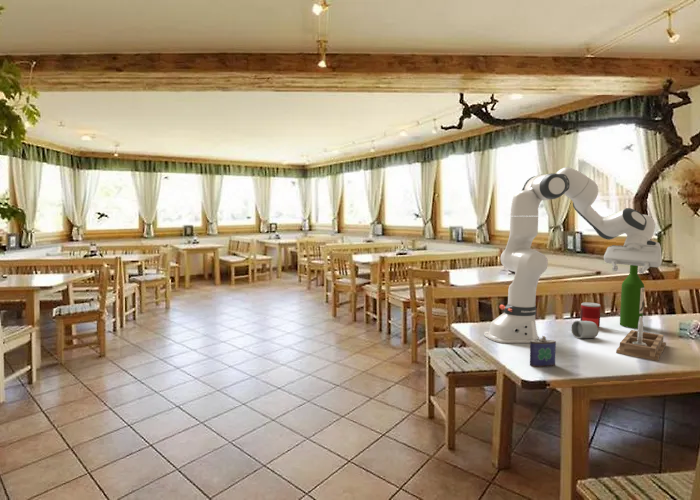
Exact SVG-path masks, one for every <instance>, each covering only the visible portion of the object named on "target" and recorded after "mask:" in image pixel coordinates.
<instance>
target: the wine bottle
mask: <svg viewBox="0 0 700 500" xmlns="http://www.w3.org/2000/svg"><path fill="white" fill-rule="evenodd" d="M638 268H639V266H636V265H629V274H628V275H627V277H626V278H625V279H624V280H623V282H622V284H621V293H620V311H619V312H620V313H619V325H620V326H621V327H624V328H629V329H638V323H639V317H640V316H641V317H642V318H644V317H643V316H644V301H645V284H644V282H643V281H642V280H641V278H640V275H639V269H638Z"/></svg>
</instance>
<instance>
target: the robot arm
mask: <svg viewBox="0 0 700 500" xmlns="http://www.w3.org/2000/svg"><path fill="white" fill-rule="evenodd" d="M598 195H599V186H598V184H597V182H595V181H594V180H593V179H591V178H590V177H589V176H587V175H586V174H584V173H583V172H580V171H579V170H577V169H575V168H573V167H570V166H569V167H568V166H565V167H562V168H560V169H559V170H557V171H556V173H553V172H550V173H547V174H546V173H543V174H538V175H533V176H531V177H530V178H527V180H526V181H525V183H524V184H523V187H522V189H521V190H519V191H517V192H515V193H514V195H513V197H512V200H511V201H512V202H511V207H510V222H509V224H510V225H509V236H508V239H507V243H506V246H505V249H504V250H503V251H502V253H501V254H500V258H499V259H500V263H501V265H502V266H503V267H504V268H505V269H507V270H508V271H510V272H513V273H514V276H513V280H512V282H511V283H510V284H509V286H508V293H507V294H508V295H507V304H506V305H504V304H500V305H499V309H500V310H503V312H502V314H500V315H499V316H497V317H496V318H494V320H492V321H491V322H490V326H489V331H484V337H486V338H487V339H489V340H491V341H494V342H496V343H501V344H506V343H509V344H511V343H513V344H525V343H527V344H529V343H530V341H532V340H535V339H536V340H539V336H538V335H539V334H538V331H537V324H536V316H537V305H536V300H537V299H536V298H537V296H536V295H537V288H538V286H537V285H538V283H539V280H540V278H541V276H542V274H544V272H546V271H547V269H548V267H549V262H548V258H547V256H546V255H545V254H544V253H542V252H540V251H538V250H536V249H531V248H532V243H533V240H534V239H535V238H536V237H537V236H538V233H539V207H540V204H541V202H542V201H550V200H556V199H558V198H560V197H561V196H566V197H567V198H568V199H570V201H572V207H573V209H574V210H575V211H576V212H577V214H578V215H579V216H580V217H581V218H582V219H584V220H585V221H586V222H587V223H588V224H589V225H590V226H591V228H592V229H594V231H595V232H596V234H597V235H598V236H599V237H601V238H602V239H604V240H607V241H608V240H612V239H614V238H617V237H619V236H620V235H623V234H626V238H625V240H624V244H623V245H616V244H615V245H614V244H613V245H609V246H607V248H606V249H605V252H604V255H603V261H604V262H605V264H611V266H612V271H613V272H617V271H618V269H619V268H618V265H624V266H625V265H627V266H630V265H636V266H638V267H639V269H638V274H644V273H645V272H646V271H647V270H648V269H650V268H660V267H661V266H662V263H663V257H662V247H661V244H660V242H657V241H654V240H652V238H653V236H654V233H655V226H656V225H655V220H654V219H653V218H652V217H651V216H650V215H648V214H642V213H641V212H640V211H638V210H636V209H634V208H630V207H626V208H624V209H621V210H619V211H617V212H615V213H613V214H609V216H601V215H600V214H599V213H598V212H597V211H596V210H595V209H594V208H593V207H592V205H593V204H594V202H595V201H596V199H597V197H598Z"/></svg>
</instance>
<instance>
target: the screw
mask: <svg viewBox="0 0 700 500" xmlns="http://www.w3.org/2000/svg"><path fill="white" fill-rule="evenodd" d="M643 318H644V317H643ZM643 318H642V317H641V316H640V317H639V323H638V328H637V330H636V331H638V333H637V334H638V336H637V341H635V342H632V344H638V345H643V346H647V344H646V343H643V342H642V340H643V339H642V337H643V336H642V334H643V332H644V322H643V321H644V319H643Z"/></svg>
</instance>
